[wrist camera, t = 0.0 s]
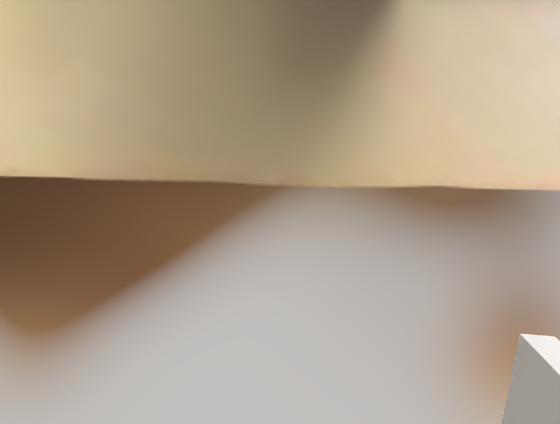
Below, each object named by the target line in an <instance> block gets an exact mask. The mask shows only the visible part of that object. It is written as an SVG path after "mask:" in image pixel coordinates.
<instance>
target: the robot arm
mask: <svg viewBox="0 0 560 424" xmlns="http://www.w3.org/2000/svg"><path fill="white" fill-rule="evenodd" d="M502 424H560V341H559V340H558V339H557V338H556V337H553V336H541V335H529V334H520V337H519V342H518V347H517V352H516V357H515V362H514V366H513V371H512V376H511V381H510V386H509V391H508V395H507V401H506V405H505V410H504V415H503V420H502Z"/></svg>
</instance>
